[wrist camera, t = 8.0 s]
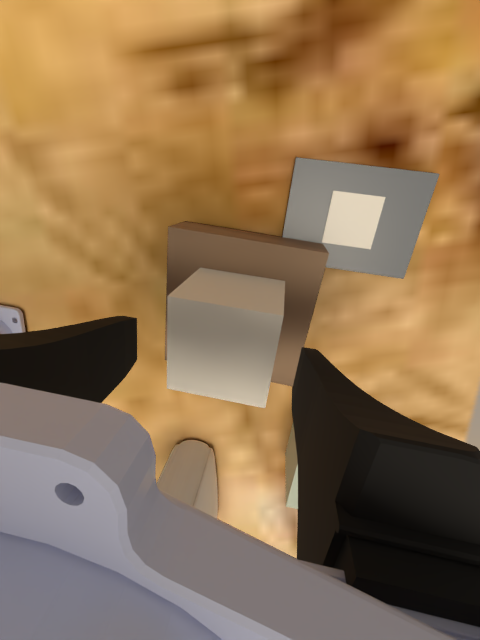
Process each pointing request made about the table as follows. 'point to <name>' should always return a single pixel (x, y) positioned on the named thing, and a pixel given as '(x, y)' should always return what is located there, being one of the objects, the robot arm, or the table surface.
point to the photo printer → (192, 476)
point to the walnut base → (256, 260)
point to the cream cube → (224, 335)
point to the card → (359, 213)
